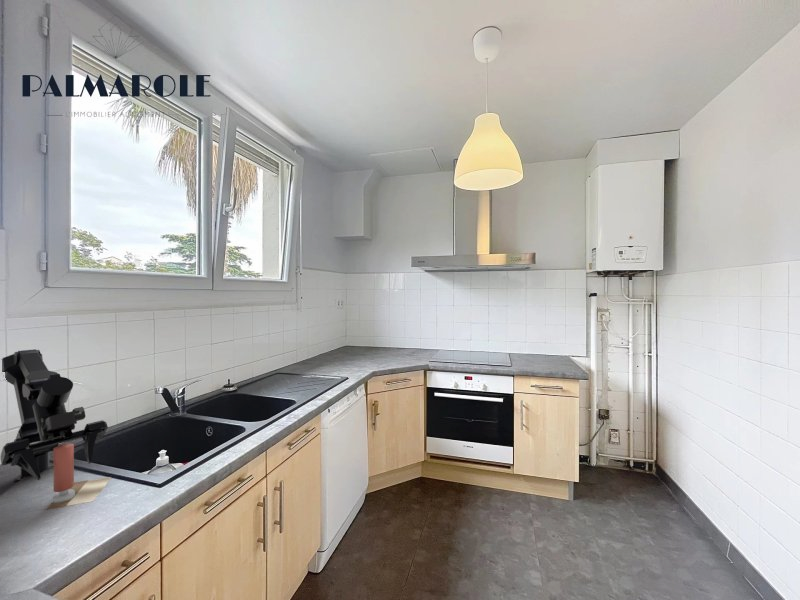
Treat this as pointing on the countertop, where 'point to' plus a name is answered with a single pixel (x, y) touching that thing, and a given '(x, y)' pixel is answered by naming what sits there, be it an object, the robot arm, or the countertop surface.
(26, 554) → the countertop surface
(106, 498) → the countertop surface
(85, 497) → the board
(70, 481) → the pink cylinder white base
